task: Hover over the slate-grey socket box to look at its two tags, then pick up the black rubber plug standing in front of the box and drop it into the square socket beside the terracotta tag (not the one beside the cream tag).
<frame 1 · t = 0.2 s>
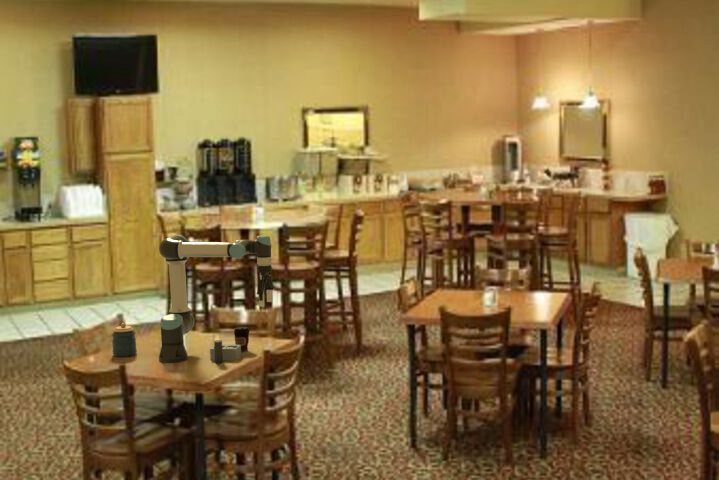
hand: (265, 304, 538), 28 cm above the table, fingers open, 13 cm apart
socket box: (225, 357, 537), on the table
coffee cup: (242, 351, 552), on the table
plug: (218, 362, 526), on the table
canister: (124, 355, 551), on the table
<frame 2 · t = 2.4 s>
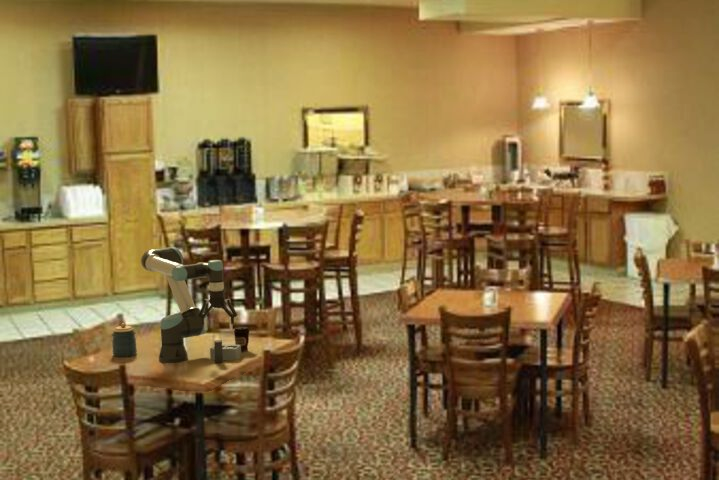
hand: (218, 330, 525), 17 cm above the table, fingers open, 13 cm apart
nothing on the table moved.
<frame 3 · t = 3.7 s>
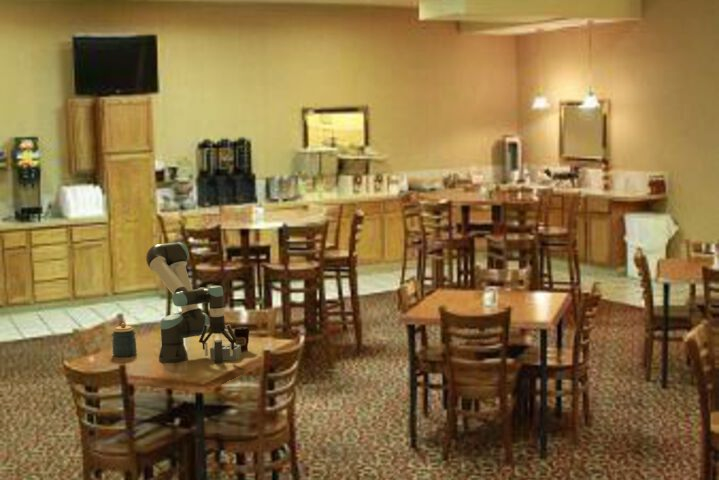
hand: (218, 355, 526), 4 cm above the table, fingers open, 13 cm apart
nothing on the table moved.
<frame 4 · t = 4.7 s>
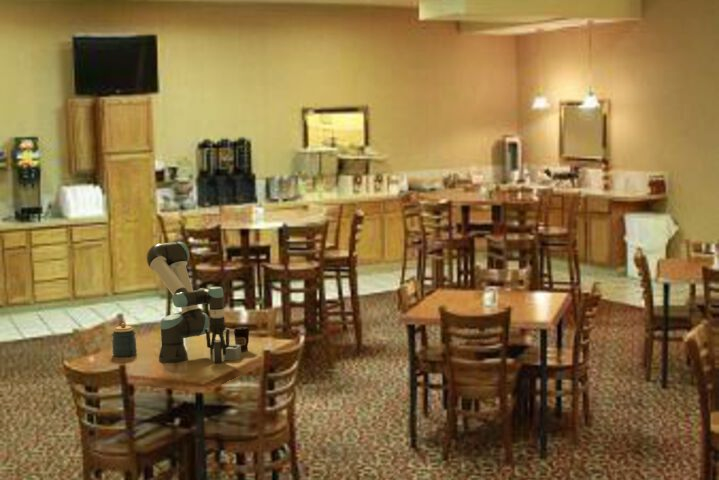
hand: (218, 360, 526), 1 cm above the table, fingers closed on plug, 4 cm apart
plug: (218, 362, 526), on the table, touching gripper
everything else where it was.
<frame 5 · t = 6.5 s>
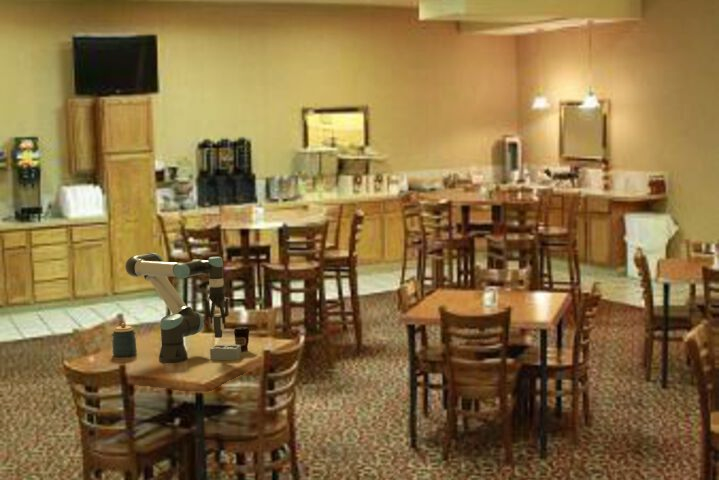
hand: (218, 329, 535), 16 cm above the table, fingers closed on plug, 4 cm apart
plug: (218, 336, 536), point 11 cm above the table, touching gripper
everything else where it was.
when the fingers open (7 cm above the table, at t = 8.5 s): plug stays where it is, resting on socket box.
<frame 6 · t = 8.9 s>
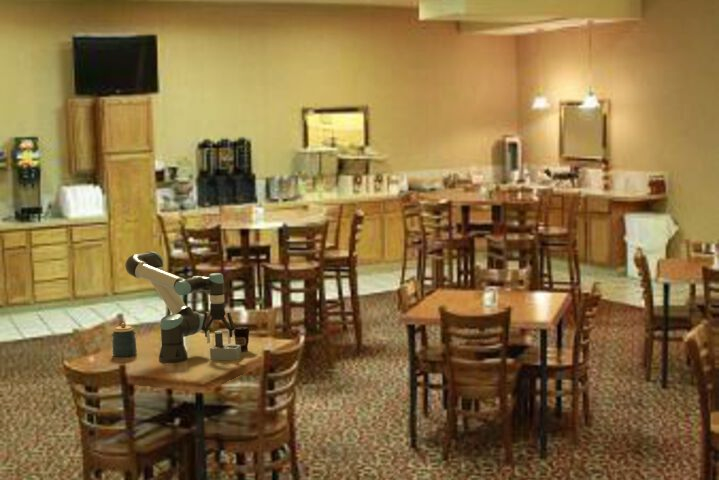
hand: (219, 343, 537), 8 cm above the table, fingers open, 11 cm apart
plug: (219, 353, 537), point 2 cm above the table, touching socket box
everything else where it was.
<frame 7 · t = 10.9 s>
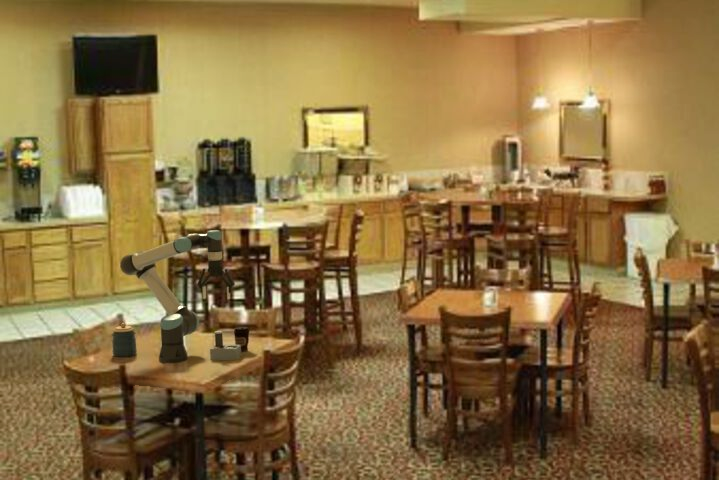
hand: (216, 298, 538), 31 cm above the table, fingers open, 13 cm apart
nothing on the table moved.
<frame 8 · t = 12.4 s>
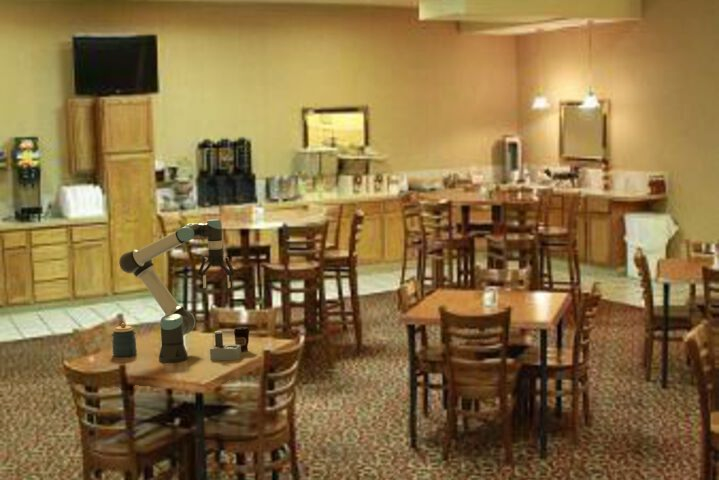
hand: (217, 287, 541), 37 cm above the table, fingers open, 13 cm apart
nothing on the table moved.
at the end: plug 0.0 cm from the target spot on the socket box, point 2.1 cm above the socket box's base; plug tilted 0°; the gripper is holding nothing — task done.
